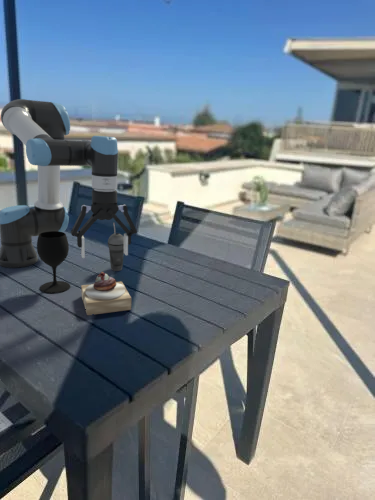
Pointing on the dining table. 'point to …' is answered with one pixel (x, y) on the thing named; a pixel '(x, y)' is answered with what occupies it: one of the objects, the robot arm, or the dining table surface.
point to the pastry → (104, 282)
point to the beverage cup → (116, 250)
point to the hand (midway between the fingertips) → (104, 255)
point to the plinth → (105, 299)
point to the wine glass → (53, 257)
